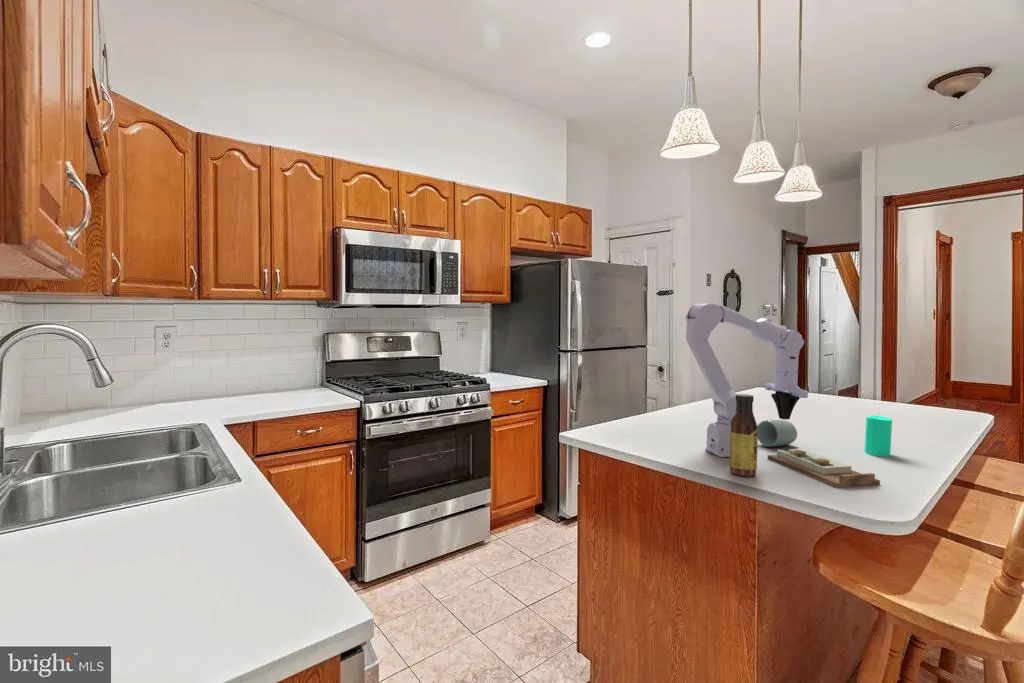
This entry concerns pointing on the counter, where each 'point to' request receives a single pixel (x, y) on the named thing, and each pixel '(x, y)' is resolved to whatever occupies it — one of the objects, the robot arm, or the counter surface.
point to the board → (831, 479)
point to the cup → (776, 433)
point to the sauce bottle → (743, 438)
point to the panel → (814, 462)
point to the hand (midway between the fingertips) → (784, 418)
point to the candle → (878, 435)
